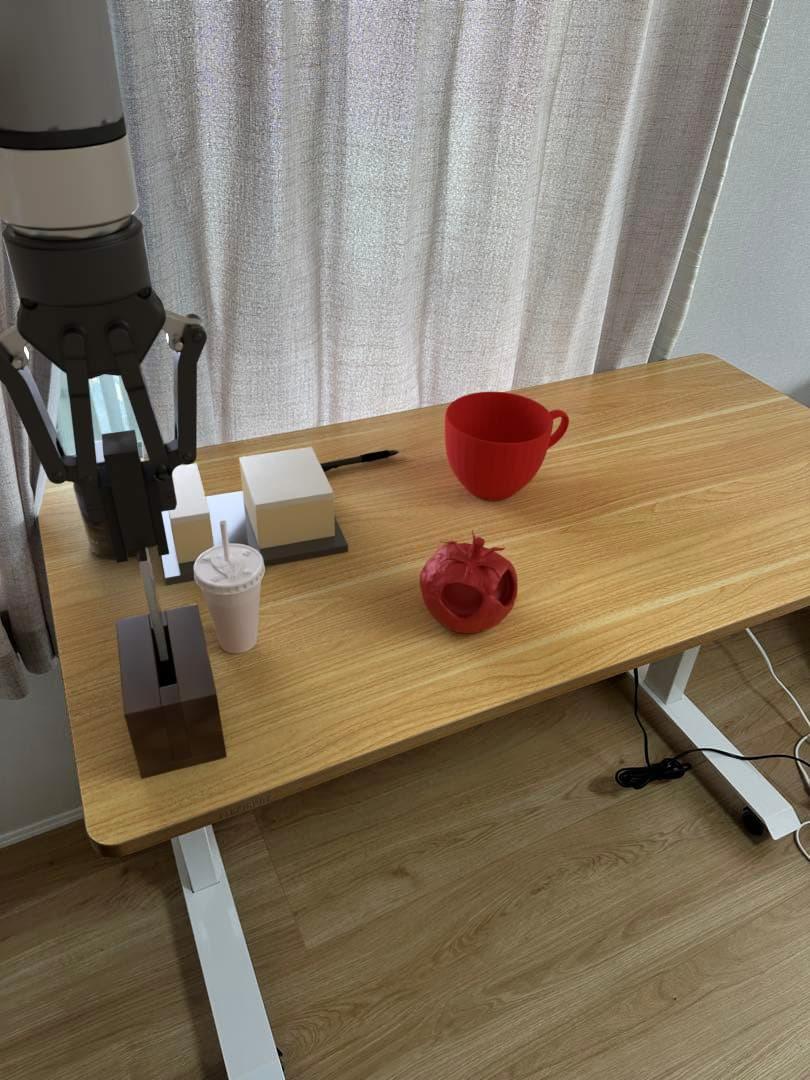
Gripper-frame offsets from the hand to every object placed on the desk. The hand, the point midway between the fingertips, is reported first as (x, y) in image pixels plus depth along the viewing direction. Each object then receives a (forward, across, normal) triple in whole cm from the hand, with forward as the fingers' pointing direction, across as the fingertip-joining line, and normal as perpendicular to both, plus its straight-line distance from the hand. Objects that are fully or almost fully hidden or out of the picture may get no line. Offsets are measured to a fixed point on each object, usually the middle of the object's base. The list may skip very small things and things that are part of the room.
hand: (142, 547), depth 60 cm
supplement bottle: (+19, +3, -28) cm, 34 cm away
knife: (+9, 0, 0) cm, 9 cm away
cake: (+19, -16, -26) cm, 36 cm away
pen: (+19, -26, -36) cm, 48 cm away
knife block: (+19, 0, 0) cm, 19 cm away
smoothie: (+19, -7, -8) cm, 22 cm away
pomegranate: (+20, -30, -6) cm, 36 cm away
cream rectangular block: (+18, -4, -26) cm, 32 cm away
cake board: (+19, -11, -26) cm, 34 cm away
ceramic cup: (+20, -44, -26) cm, 55 cm away
